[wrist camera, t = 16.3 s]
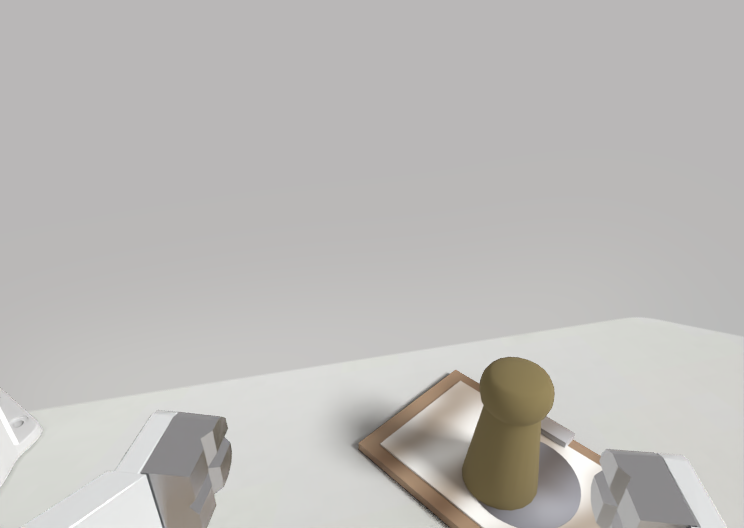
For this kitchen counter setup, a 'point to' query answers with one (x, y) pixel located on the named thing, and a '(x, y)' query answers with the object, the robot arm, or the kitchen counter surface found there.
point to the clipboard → (447, 454)
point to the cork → (508, 434)
